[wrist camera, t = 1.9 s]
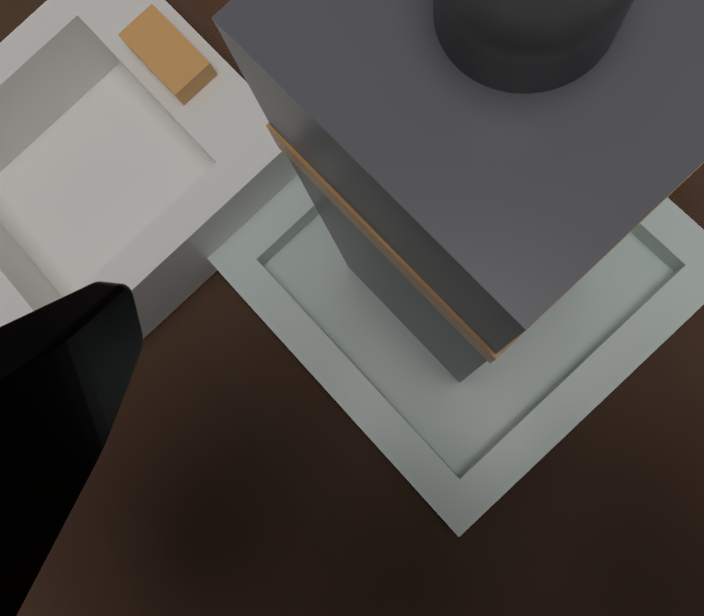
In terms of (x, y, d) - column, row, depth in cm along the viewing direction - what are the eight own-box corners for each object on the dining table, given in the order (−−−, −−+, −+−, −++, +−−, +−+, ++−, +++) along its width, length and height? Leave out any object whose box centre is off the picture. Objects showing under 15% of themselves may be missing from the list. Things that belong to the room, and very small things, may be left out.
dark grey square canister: (459, 385, 18) (560, 312, 4) (345, 266, 19) (142, -92, 5) (581, 269, 18) (1037, -139, 5) (462, 157, 19) (552, -464, 5)
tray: (456, 528, 17) (459, 537, 16) (220, 267, 19) (207, 258, 18) (723, 275, 18) (744, 265, 17) (464, 41, 20) (466, 18, 18)
